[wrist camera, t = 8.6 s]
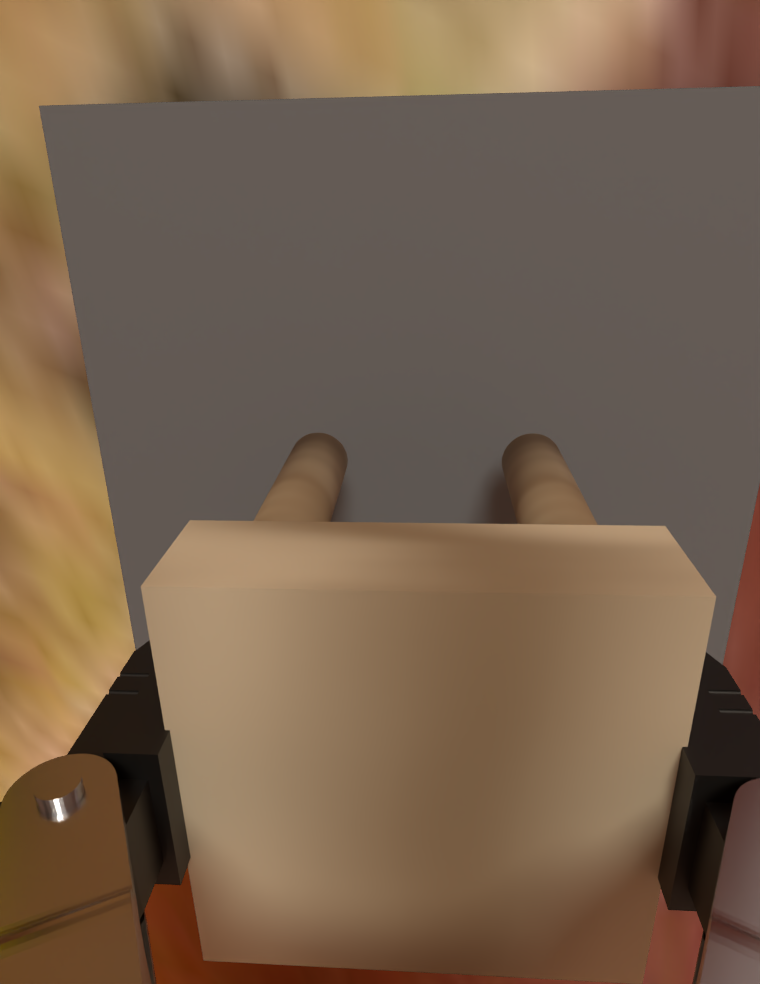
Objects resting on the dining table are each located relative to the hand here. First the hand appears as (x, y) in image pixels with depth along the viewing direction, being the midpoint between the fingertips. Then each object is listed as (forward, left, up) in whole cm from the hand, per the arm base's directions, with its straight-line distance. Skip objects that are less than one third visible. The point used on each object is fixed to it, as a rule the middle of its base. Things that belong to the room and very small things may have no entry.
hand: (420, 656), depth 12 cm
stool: (0, 0, -4) cm, 4 cm away
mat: (0, 0, -6) cm, 6 cm away
